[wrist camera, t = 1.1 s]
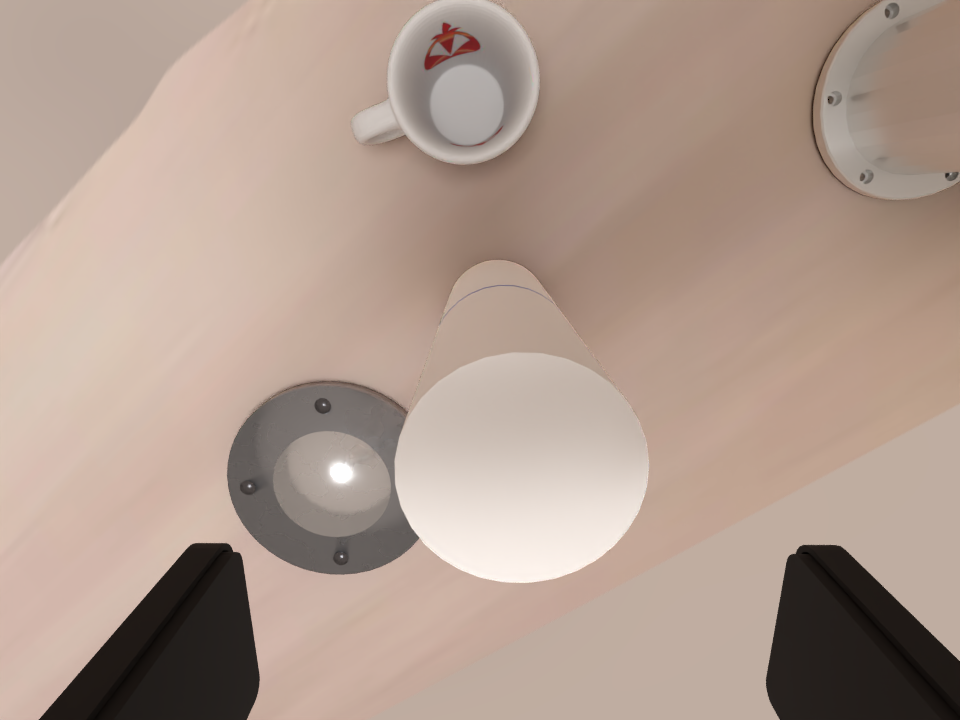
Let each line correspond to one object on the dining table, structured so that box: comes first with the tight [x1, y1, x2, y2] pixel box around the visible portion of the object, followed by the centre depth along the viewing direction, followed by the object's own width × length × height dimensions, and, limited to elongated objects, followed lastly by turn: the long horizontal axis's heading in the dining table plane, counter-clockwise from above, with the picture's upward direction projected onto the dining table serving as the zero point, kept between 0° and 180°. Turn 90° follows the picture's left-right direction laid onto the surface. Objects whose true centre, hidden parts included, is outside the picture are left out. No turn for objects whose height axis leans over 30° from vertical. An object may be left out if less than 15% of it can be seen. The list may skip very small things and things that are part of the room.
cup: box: [351, 0, 540, 165], centre depth 32 cm, size 11×8×8 cm
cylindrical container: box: [394, 260, 649, 583], centre depth 27 cm, size 7×7×25 cm
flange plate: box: [227, 381, 419, 574], centre depth 42 cm, size 16×16×1 cm
